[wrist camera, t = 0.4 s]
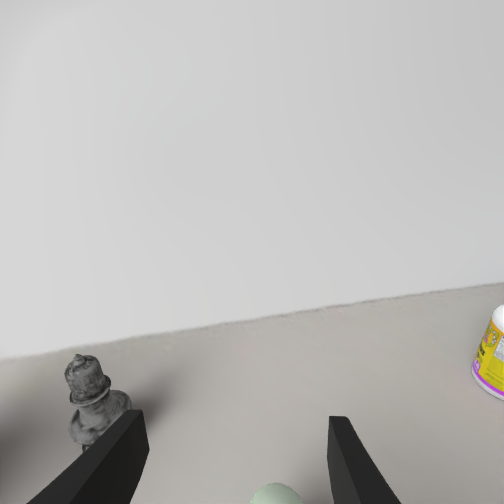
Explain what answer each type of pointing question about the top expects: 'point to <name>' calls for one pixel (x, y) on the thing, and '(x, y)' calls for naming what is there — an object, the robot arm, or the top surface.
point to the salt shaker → (92, 400)
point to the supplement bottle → (491, 357)
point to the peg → (276, 495)
